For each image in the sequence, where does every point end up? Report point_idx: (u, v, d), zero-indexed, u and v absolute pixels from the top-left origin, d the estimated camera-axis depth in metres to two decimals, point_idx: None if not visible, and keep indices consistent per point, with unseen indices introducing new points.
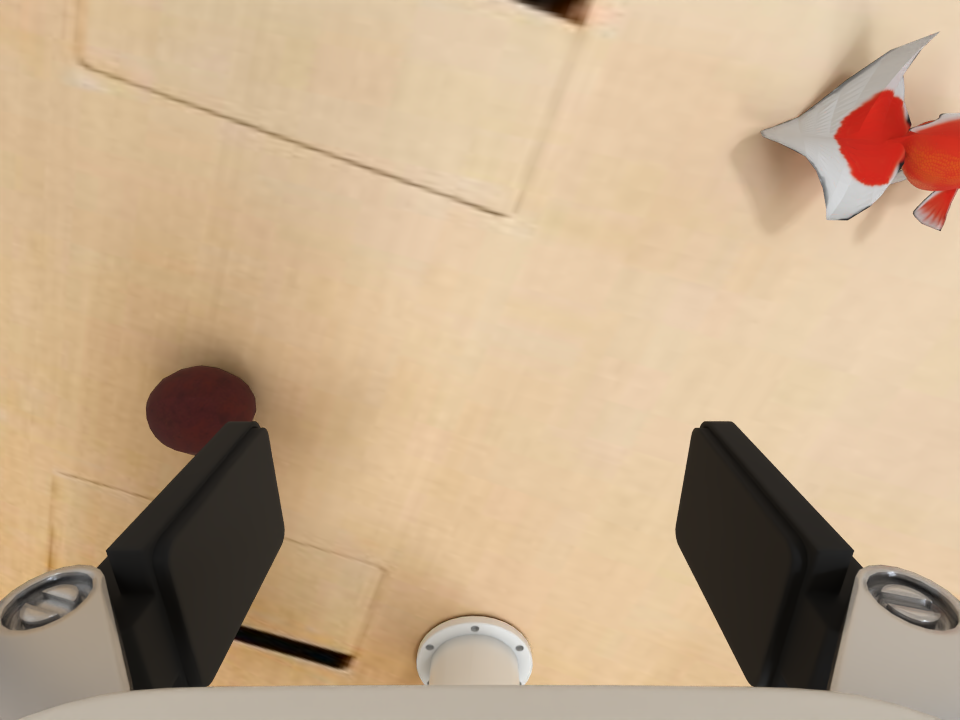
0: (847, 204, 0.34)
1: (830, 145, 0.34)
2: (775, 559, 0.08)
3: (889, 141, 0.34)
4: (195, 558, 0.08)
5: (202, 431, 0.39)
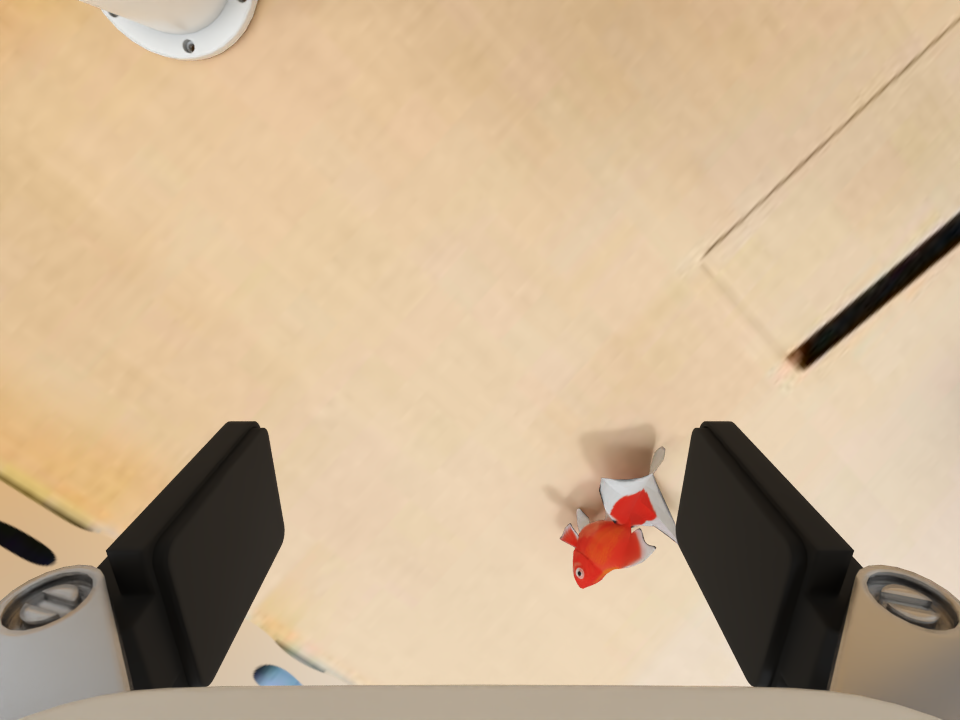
0: (609, 491, 0.48)
1: (643, 486, 0.50)
2: (775, 559, 0.08)
3: (628, 517, 0.51)
4: (195, 557, 0.08)
5: None
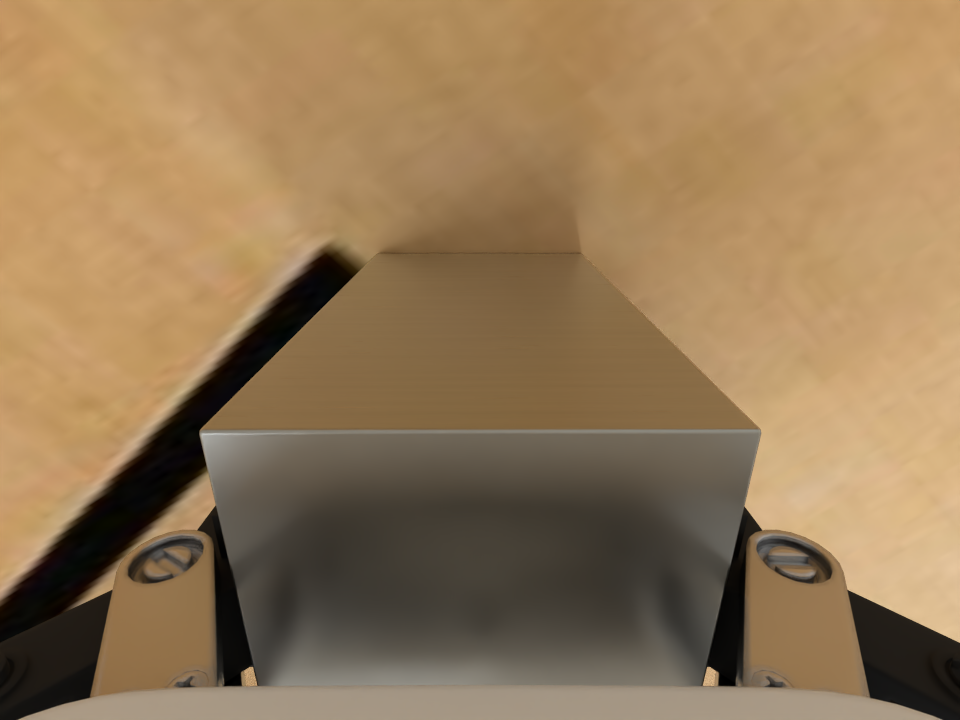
0: None
1: None
2: None
3: None
4: None
5: None
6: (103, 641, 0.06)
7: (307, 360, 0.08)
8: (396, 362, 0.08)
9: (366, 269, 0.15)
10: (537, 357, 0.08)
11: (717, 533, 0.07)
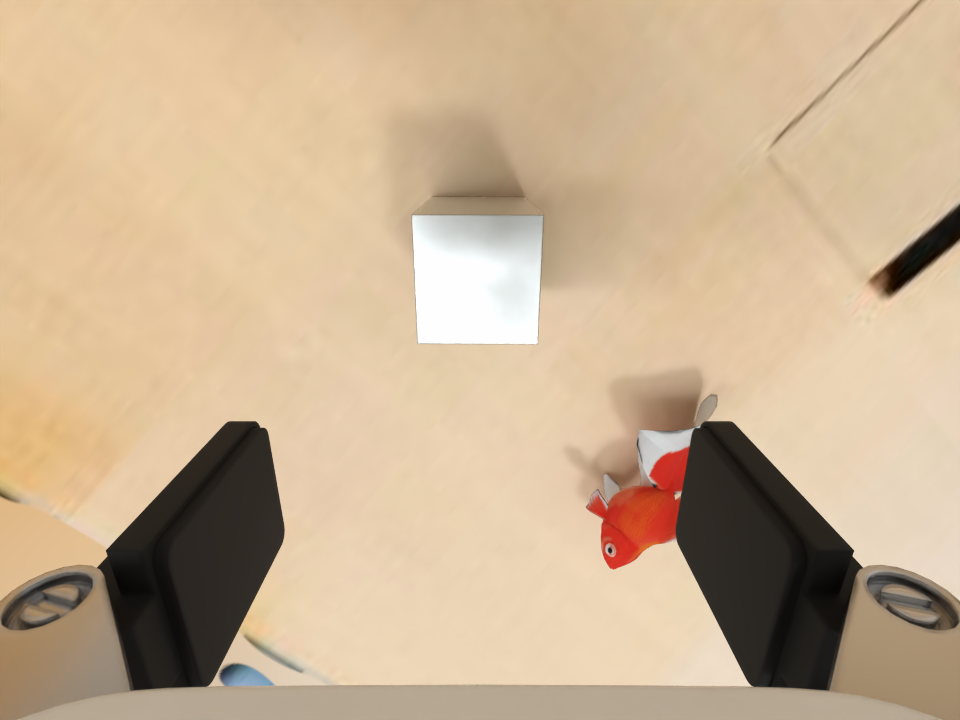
0: (648, 446, 0.39)
1: (689, 441, 0.40)
2: (775, 559, 0.08)
3: (670, 480, 0.41)
4: (196, 558, 0.08)
5: None
6: None
7: (428, 209, 0.28)
8: (453, 210, 0.28)
9: (431, 199, 0.35)
10: (495, 210, 0.29)
11: (537, 245, 0.27)
